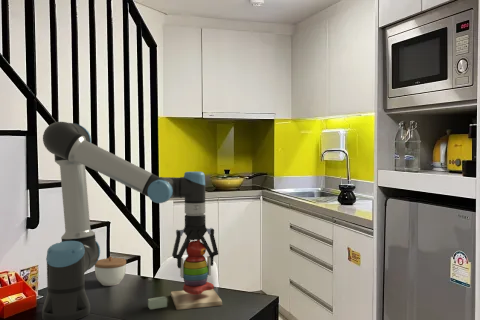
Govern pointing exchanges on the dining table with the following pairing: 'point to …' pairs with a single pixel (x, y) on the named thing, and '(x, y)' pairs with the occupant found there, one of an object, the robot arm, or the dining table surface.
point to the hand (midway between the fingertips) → (195, 275)
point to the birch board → (195, 299)
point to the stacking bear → (196, 269)
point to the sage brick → (157, 302)
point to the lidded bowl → (110, 270)
